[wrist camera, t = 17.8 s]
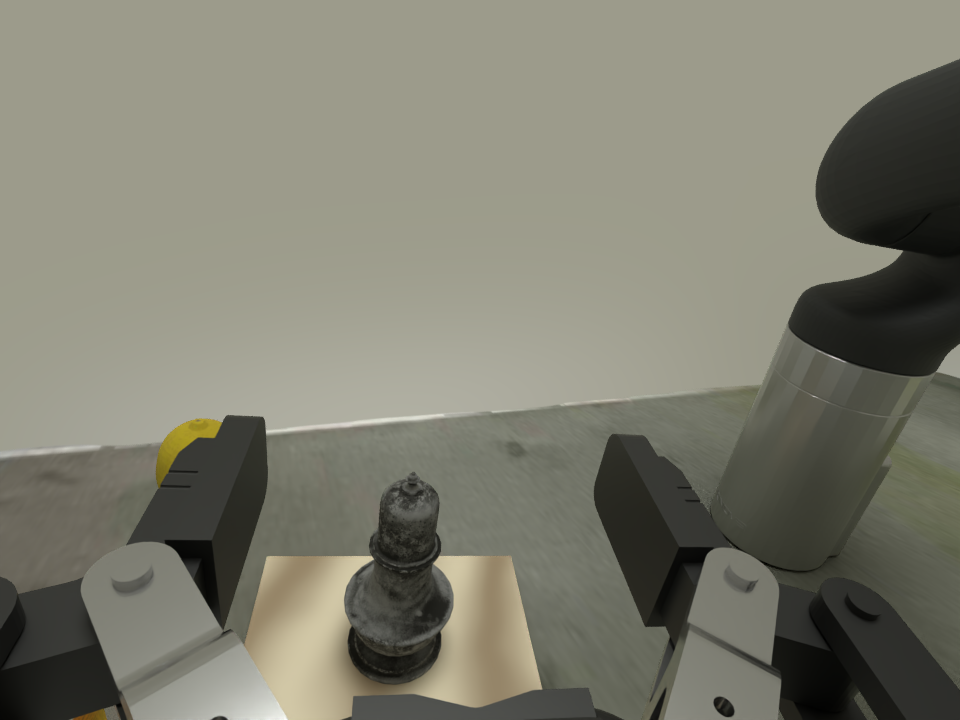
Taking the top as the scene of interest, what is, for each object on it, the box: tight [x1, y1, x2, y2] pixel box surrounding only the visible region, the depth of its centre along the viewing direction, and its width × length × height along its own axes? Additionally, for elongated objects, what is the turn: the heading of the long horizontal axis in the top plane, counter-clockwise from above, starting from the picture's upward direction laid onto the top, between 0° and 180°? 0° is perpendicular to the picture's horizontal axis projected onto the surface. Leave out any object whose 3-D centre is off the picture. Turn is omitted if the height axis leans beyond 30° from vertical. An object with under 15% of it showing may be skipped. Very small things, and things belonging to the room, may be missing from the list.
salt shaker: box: [344, 472, 454, 685], centre depth 29 cm, size 6×6×12 cm
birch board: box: [244, 556, 542, 720], centre depth 32 cm, size 16×12×1 cm
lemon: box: [156, 419, 222, 489], centre depth 38 cm, size 6×6×8 cm
